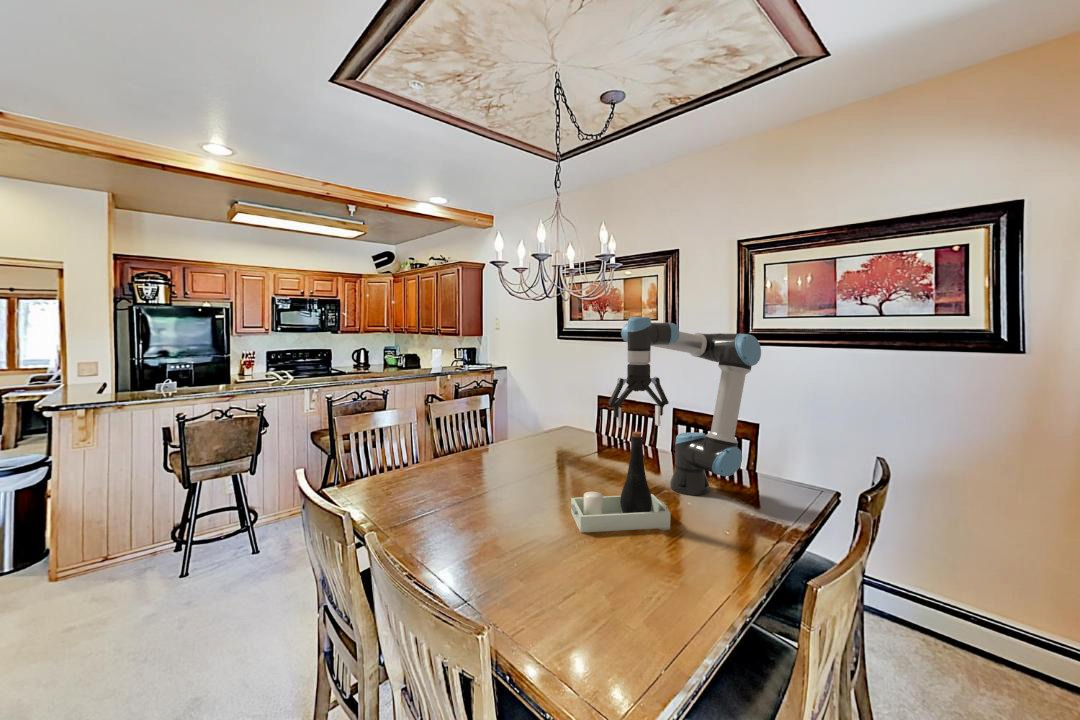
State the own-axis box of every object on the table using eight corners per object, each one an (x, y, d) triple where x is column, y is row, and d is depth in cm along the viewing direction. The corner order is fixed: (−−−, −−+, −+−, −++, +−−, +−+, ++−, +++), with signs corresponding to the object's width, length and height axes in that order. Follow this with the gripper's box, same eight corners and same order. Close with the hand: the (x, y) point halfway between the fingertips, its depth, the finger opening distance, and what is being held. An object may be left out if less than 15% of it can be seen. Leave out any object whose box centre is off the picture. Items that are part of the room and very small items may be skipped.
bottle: (652, 526, 150) (653, 437, 148) (619, 523, 153) (620, 435, 150) (650, 513, 161) (652, 429, 158) (620, 511, 163) (621, 428, 161)
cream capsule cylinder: (599, 516, 158) (600, 491, 158) (604, 524, 152) (604, 498, 151) (581, 517, 158) (581, 492, 157) (585, 525, 151) (586, 499, 150)
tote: (655, 510, 166) (655, 494, 165) (673, 529, 150) (673, 512, 149) (568, 514, 162) (568, 498, 161) (577, 535, 146) (577, 516, 146)
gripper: (670, 361, 158) (669, 422, 159) (599, 363, 155) (599, 424, 156) (679, 363, 150) (678, 426, 152) (605, 365, 147) (605, 429, 149)
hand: (638, 425), depth 154 cm, fingers open, 13 cm apart
